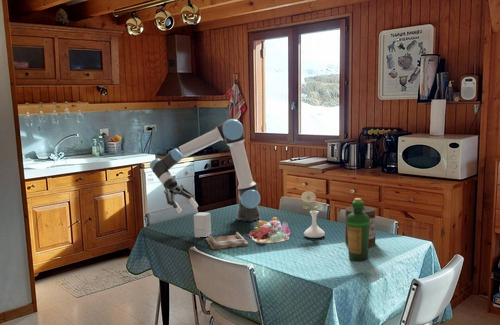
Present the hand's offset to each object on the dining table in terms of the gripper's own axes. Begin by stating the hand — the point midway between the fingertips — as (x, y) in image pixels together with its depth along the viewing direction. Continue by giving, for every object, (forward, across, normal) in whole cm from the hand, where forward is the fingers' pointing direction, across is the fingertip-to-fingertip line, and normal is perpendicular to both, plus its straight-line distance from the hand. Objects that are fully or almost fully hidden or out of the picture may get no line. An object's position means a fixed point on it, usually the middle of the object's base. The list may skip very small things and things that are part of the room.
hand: (188, 209), depth 266 cm
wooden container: (+74, -28, +54) cm, 96 cm away
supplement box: (+17, 0, -4) cm, 17 cm away
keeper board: (+31, +4, +11) cm, 33 cm away
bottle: (+79, -6, +60) cm, 99 cm away
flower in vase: (+55, -28, +35) cm, 71 cm away
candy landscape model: (+41, -18, +20) cm, 49 cm away
